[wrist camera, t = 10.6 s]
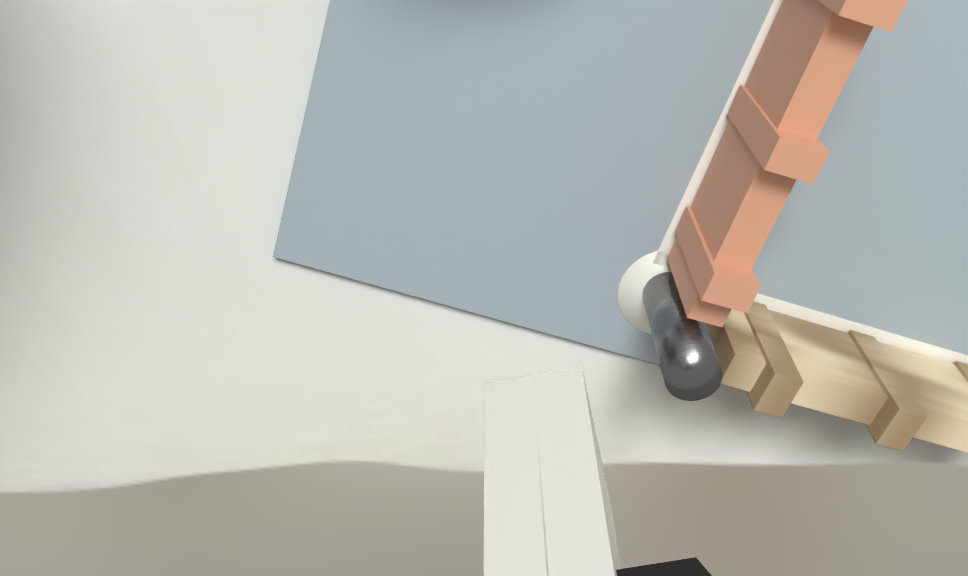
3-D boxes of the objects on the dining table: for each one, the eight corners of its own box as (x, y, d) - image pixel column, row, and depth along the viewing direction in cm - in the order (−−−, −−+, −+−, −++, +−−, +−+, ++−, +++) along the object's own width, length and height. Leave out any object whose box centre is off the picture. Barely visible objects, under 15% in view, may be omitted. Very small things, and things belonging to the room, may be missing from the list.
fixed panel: (695, 323, 33) (722, 401, 29) (712, 289, 32) (742, 364, 28) (982, 405, 35) (1048, 491, 30) (1005, 375, 34) (1075, 458, 30)
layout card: (274, 252, 33) (272, 257, 32) (392, -275, 25) (391, -276, 24) (958, 444, 36) (962, 449, 36) (1257, 40, 28) (1266, 43, 28)
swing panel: (702, 268, 32) (732, 342, 28) (663, 257, 32) (686, 330, 28) (866, -78, 26) (934, -51, 22) (819, -94, 26) (879, -70, 22)
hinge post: (633, 302, 33) (655, 392, 28) (652, 261, 32) (678, 347, 28) (678, 315, 34) (707, 406, 29) (698, 275, 33) (732, 362, 28)
